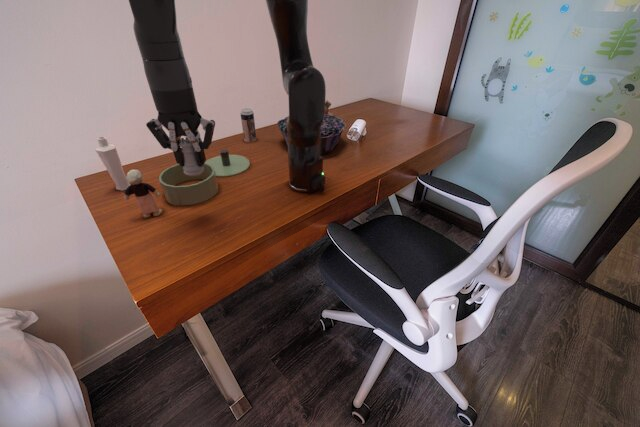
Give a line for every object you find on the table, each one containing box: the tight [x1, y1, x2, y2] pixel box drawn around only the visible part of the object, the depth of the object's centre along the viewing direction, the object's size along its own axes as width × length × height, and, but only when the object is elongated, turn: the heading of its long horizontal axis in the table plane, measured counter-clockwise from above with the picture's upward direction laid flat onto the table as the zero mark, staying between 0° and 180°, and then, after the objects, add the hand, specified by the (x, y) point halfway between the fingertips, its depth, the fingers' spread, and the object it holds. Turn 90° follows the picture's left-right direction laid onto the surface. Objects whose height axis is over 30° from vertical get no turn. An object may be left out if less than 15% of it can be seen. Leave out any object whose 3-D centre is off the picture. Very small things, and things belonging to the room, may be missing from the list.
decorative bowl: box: [276, 113, 347, 155], centre depth 109 cm, size 26×28×10 cm
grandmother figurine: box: [123, 169, 163, 219], centre depth 69 cm, size 8×4×13 cm, turn 118°
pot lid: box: [205, 148, 251, 178], centre depth 92 cm, size 15×15×6 cm
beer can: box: [239, 108, 257, 143], centre depth 108 cm, size 5×5×12 cm
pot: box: [158, 163, 220, 207], centre depth 79 cm, size 14×14×6 cm
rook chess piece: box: [179, 136, 204, 176], centre depth 63 cm, size 4×4×8 cm
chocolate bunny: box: [324, 99, 334, 115], centre depth 130 cm, size 6×8×10 cm
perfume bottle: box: [95, 136, 131, 192], centre depth 78 cm, size 5×4×15 cm
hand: (192, 164), depth 64 cm, fingers closed on rook chess piece, 3 cm apart
